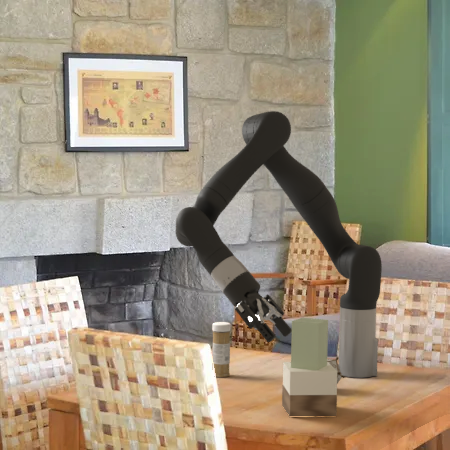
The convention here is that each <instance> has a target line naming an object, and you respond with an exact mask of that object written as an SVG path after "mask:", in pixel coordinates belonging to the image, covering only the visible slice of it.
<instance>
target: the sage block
mask: <svg viewBox="0 0 450 450" xmlns="http://www.w3.org/2000/svg"><path fill="white" fill-rule="evenodd" d="M291 329H292V332H291V339H290V341H291V343H290V344H291V345H290V347H291V348H290V349H291V350H290V353H291V354H290V362H291V368H299V369H308V370H319V369H321V368H323V367H325V366H327V359H328V341H329V340H328V336H329V335H328V334H329V319H323V318H320V319H319V318H310V317H299V318H297V319H294V320H291Z"/></svg>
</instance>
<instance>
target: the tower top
mask: <svg viewBox="0 0 450 450" xmlns="http://www.w3.org/2000/svg"><path fill="white" fill-rule="evenodd" d="M282 365H283V367H282V385H283V386H284V387H285V389H286V390H287V392H288V393H289V395H337V396H338V393H337V392H338V384H337V371H336V370H335V369H334V368H333V367H332V366H331V365H330V363H329V362H327V366H325V367H323V368H321V369H319V370H308V369H299V368H291V361H283V362H282Z"/></svg>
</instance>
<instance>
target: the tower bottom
mask: <svg viewBox="0 0 450 450" xmlns="http://www.w3.org/2000/svg"><path fill="white" fill-rule="evenodd" d="M281 391H282V394H281V396H282V397H281V407H282V406H283V407H284V408H283V407H282V408H283V410H284V409H285V410H286V411H285V410H284V411H285V413H286V412H287V413H288V414H289V416H338V415H337V414H338V413H337V411H338V410H337V408H338V406H337V405H338V403H337V402H338V394H337V395H289V393H288V392H287V390H286V389H285V387H284V386H283V384H282V390H281ZM287 413H286V414H287ZM288 414H287V415H288ZM289 416H288V417H289Z"/></svg>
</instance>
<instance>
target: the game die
mask: <svg viewBox="0 0 450 450" xmlns="http://www.w3.org/2000/svg"><path fill="white" fill-rule="evenodd" d="M338 361H339V356H337V357H336V358H335V359H334V358H333V359H332V358H331V359H330V358H327V362H329V363H330V365H331V366H332V367H333V368H334V369H335V370H336V371H337V385H338V384H339V382H340V381H341V380H342V379H345V378H346V376H343V375H342V374H341V371H340V368H339V366H338V364H339V362H338Z"/></svg>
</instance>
